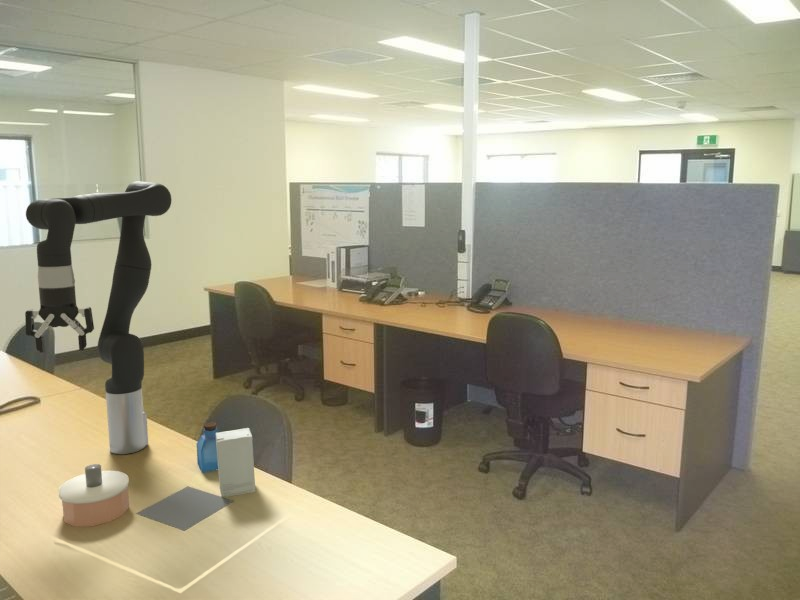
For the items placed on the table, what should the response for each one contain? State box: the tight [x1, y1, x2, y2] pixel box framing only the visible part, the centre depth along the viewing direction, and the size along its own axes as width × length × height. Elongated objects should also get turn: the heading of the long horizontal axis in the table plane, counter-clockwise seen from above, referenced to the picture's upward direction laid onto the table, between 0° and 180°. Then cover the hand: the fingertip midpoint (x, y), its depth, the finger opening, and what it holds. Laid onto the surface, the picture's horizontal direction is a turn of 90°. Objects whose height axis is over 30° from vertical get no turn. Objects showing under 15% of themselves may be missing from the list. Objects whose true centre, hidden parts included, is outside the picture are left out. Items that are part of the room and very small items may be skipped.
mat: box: [135, 485, 235, 532], centre depth 142 cm, size 15×15×1 cm
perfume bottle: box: [196, 421, 218, 474], centre depth 163 cm, size 6×6×12 cm
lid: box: [58, 463, 130, 504], centre depth 138 cm, size 14×14×6 cm
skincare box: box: [216, 427, 256, 498], centre depth 149 cm, size 8×6×15 cm
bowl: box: [61, 486, 130, 527], centre depth 139 cm, size 13×13×6 cm
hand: (62, 351), depth 151 cm, fingers open, 8 cm apart
